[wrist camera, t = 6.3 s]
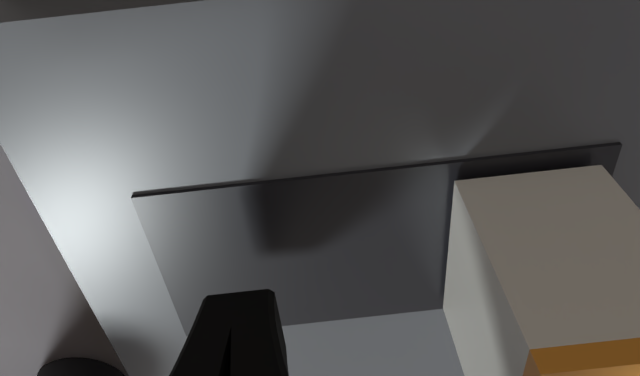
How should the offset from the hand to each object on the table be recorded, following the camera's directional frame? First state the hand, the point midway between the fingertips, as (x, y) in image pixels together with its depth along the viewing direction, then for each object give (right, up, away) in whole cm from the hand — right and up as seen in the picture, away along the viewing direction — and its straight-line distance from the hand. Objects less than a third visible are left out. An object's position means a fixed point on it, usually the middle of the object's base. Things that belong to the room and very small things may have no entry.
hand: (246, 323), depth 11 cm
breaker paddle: (+6, +1, +1) cm, 6 cm away
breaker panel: (+3, +3, +3) cm, 5 cm away
